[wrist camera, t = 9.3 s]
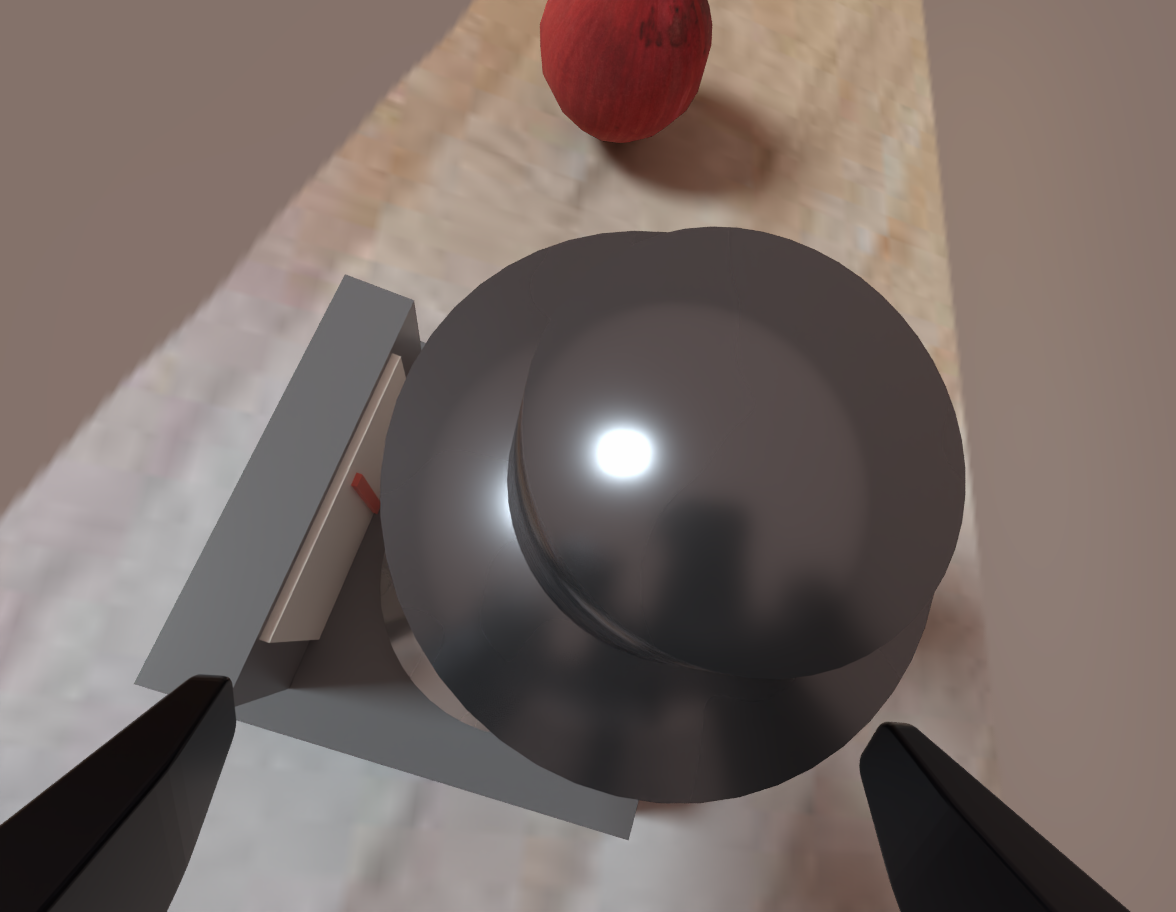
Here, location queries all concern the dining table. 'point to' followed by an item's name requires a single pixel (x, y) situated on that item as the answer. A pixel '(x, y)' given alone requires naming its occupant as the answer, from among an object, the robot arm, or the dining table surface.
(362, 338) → the scale
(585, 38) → the onion
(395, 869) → the dining table surface
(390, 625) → the scale pan
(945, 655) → the dining table surface
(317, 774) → the dining table surface
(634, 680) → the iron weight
